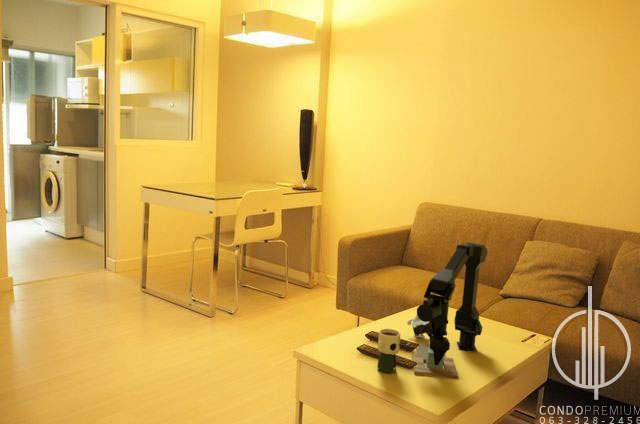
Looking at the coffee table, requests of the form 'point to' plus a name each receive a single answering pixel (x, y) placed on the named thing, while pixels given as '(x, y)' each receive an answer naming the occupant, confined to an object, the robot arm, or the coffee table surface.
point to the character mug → (388, 349)
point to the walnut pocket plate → (448, 372)
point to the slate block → (432, 360)
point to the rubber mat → (423, 350)
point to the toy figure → (416, 321)
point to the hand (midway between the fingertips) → (434, 359)
